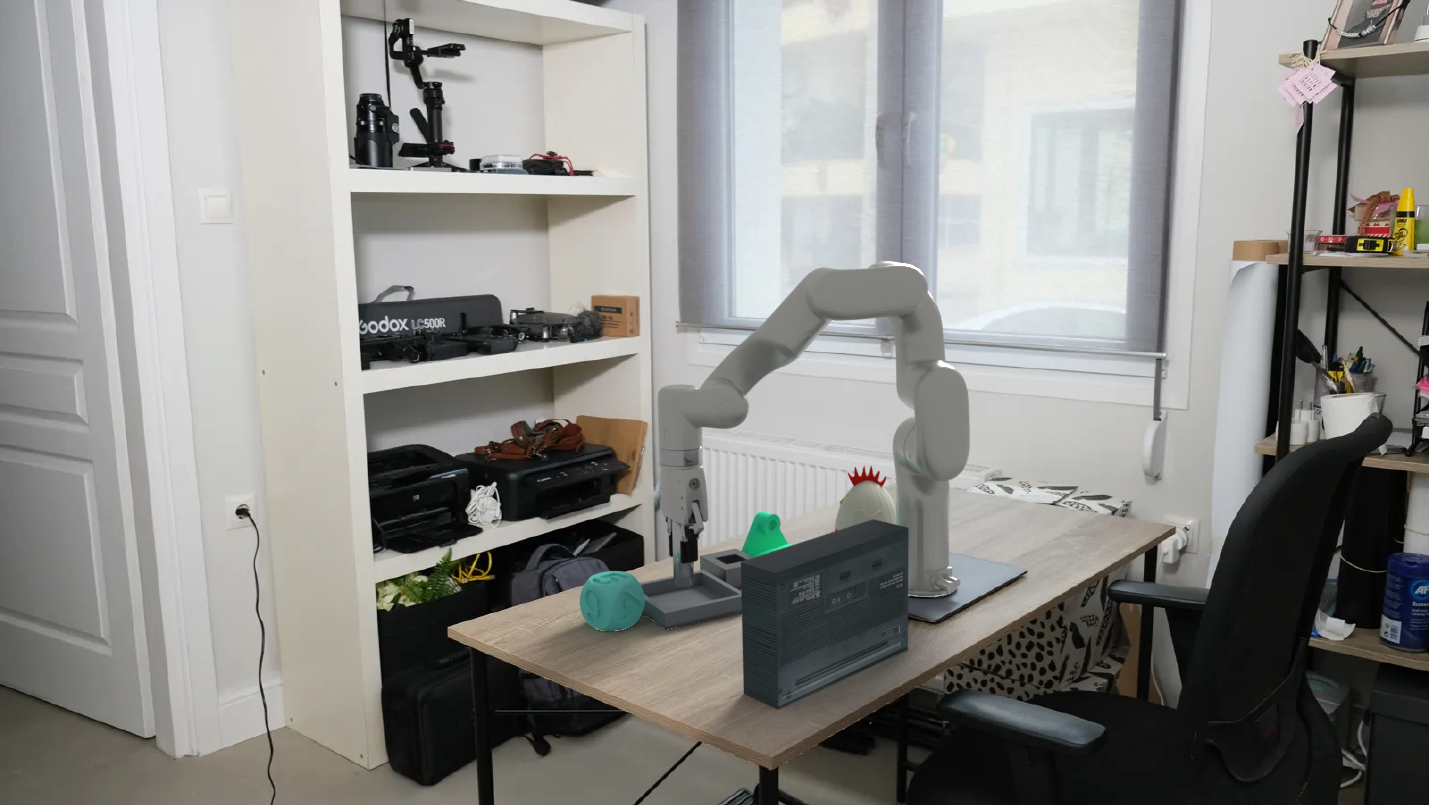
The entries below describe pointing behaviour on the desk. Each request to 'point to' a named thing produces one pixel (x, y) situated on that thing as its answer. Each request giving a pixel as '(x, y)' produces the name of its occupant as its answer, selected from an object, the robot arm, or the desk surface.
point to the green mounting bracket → (764, 535)
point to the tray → (690, 600)
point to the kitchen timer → (865, 501)
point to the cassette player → (823, 610)
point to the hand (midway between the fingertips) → (683, 557)
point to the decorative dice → (612, 600)
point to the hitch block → (725, 565)
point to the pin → (680, 571)
